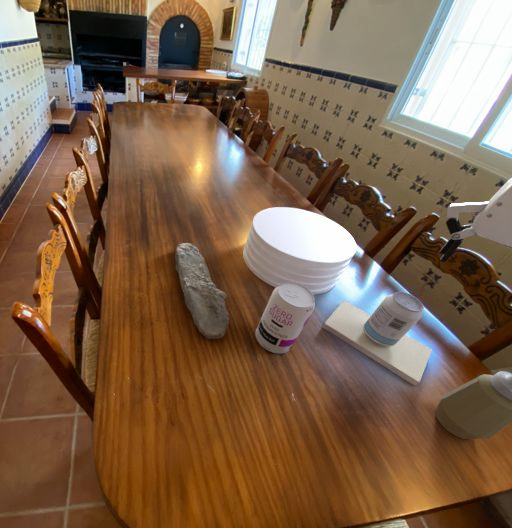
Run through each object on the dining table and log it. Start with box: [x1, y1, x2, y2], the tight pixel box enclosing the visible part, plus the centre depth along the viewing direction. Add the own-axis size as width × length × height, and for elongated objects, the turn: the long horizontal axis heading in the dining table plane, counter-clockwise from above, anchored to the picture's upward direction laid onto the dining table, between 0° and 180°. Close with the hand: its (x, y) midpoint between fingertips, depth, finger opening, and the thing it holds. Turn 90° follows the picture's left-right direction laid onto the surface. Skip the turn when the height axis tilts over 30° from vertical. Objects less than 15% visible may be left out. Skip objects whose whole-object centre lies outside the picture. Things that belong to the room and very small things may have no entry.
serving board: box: [322, 299, 433, 387], centre depth 70 cm, size 20×12×2 cm, turn 43°
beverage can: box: [363, 291, 425, 346], centre depth 65 cm, size 7×7×12 cm
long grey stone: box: [174, 242, 230, 340], centre depth 78 cm, size 35×5×10 cm
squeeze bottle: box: [435, 370, 512, 440], centre depth 50 cm, size 8×8×18 cm
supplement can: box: [254, 282, 316, 354], centre depth 63 cm, size 8×8×15 cm
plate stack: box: [242, 206, 357, 296], centre depth 88 cm, size 28×28×12 cm
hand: (480, 273), depth 47 cm, fingers open, 9 cm apart
